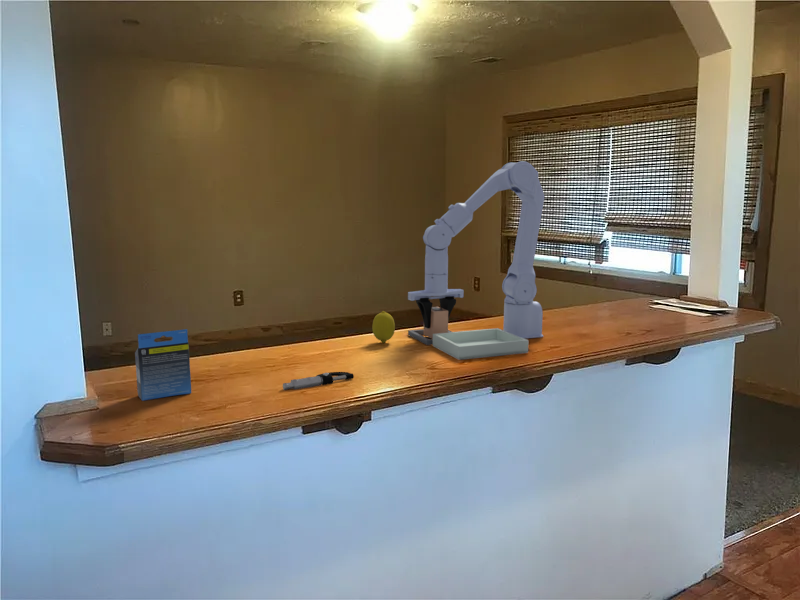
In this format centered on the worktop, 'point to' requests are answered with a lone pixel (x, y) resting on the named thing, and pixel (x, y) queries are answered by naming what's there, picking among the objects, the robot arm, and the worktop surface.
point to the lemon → (383, 326)
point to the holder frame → (418, 336)
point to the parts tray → (480, 343)
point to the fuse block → (437, 322)
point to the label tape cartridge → (163, 365)
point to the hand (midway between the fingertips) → (435, 326)
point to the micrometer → (317, 380)
